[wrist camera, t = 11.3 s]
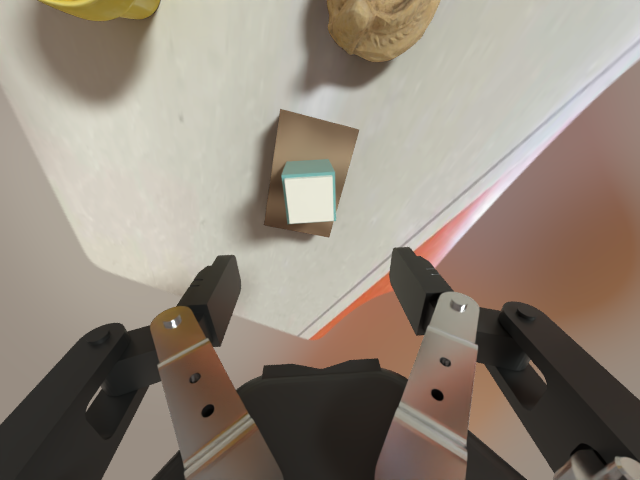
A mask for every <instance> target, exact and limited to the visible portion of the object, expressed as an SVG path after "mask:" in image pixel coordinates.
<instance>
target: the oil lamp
mask: <svg viewBox="0 0 640 480" xmlns="http://www.w3.org/2000/svg"><path fill="white" fill-rule="evenodd" d="M439 3H440V0H327V8H328V12H329V23H328V31H329V33H330V35H331V37H332V38H333V39H334V41H335V42H336V43H337V44H338V45H339V46H340V47H342V48H343V49H344V50H345V51H346V52H347V53H348V54H350V55H352V54H355V55H358V56H360V57H362V58H364V59H366V60H368V61H371V62H383V61H389V60H392V59H394V58H396V57H397V56H399V55H401V54H402V53H404V52H405V51H406V50H408V49H409V48H410V47H412V46H413V45H414V44H415V43H416V42H417V41H418V40H419V39H420V38H421V37H422V36H423V34H424V32H425V30H426V28H427V27H428V25H429V24H430V22H431V20H432V18H433V16H434V14H435V12H436V10H437V7H438V5H439Z"/></svg>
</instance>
